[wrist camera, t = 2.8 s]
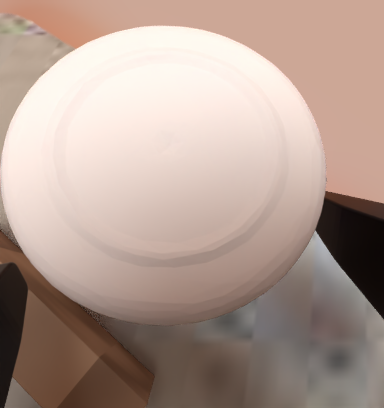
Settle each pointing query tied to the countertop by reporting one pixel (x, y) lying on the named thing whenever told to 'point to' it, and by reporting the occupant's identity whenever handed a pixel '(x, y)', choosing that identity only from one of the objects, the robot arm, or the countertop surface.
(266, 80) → the sprinkles bottle
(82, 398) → the socket block
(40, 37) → the countertop surface
